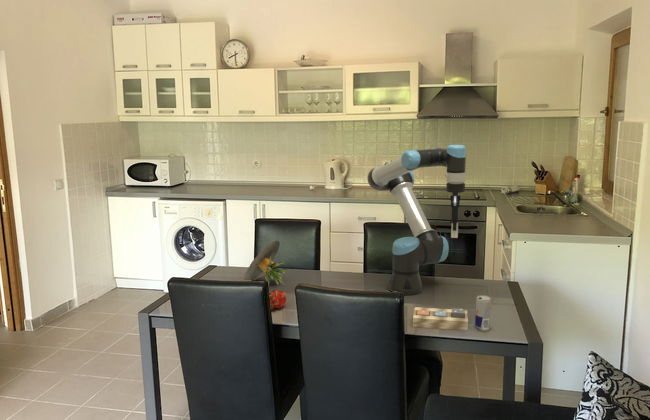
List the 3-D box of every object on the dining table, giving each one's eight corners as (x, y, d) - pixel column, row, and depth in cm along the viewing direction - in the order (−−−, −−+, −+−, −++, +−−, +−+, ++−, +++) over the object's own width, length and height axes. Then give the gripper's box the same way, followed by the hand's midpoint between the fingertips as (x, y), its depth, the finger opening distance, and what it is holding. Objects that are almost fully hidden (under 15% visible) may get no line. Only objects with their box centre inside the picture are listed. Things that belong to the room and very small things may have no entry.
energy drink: (475, 324, 204) (476, 294, 201) (490, 326, 202) (491, 295, 200) (474, 330, 199) (475, 299, 196) (490, 331, 197) (491, 300, 195)
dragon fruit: (265, 316, 220) (283, 310, 231) (279, 307, 216) (296, 302, 226) (256, 297, 223) (274, 292, 233) (270, 288, 219) (288, 284, 229)
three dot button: (434, 321, 204) (434, 314, 204) (434, 316, 208) (434, 310, 208) (446, 322, 203) (446, 315, 203) (446, 317, 207) (446, 311, 207)
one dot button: (416, 320, 206) (416, 313, 205) (417, 315, 210) (417, 309, 209) (428, 321, 205) (428, 314, 204) (429, 316, 209) (429, 309, 208)
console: (412, 326, 203) (413, 317, 202) (414, 315, 214) (414, 307, 213) (467, 330, 199) (467, 321, 198) (466, 318, 209) (467, 310, 208)
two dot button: (451, 318, 202) (452, 312, 202) (451, 314, 207) (452, 307, 206) (464, 319, 201) (464, 312, 201) (463, 315, 206) (464, 308, 205)
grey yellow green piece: (251, 309, 243) (284, 272, 234) (228, 280, 248) (259, 243, 239) (280, 297, 265) (310, 264, 257) (258, 271, 270) (287, 237, 261)
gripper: (447, 180, 231) (445, 233, 235) (445, 184, 219) (444, 240, 223) (465, 180, 229) (463, 234, 234) (464, 184, 217) (463, 241, 221)
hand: (454, 237), depth 228 cm, fingers closed
